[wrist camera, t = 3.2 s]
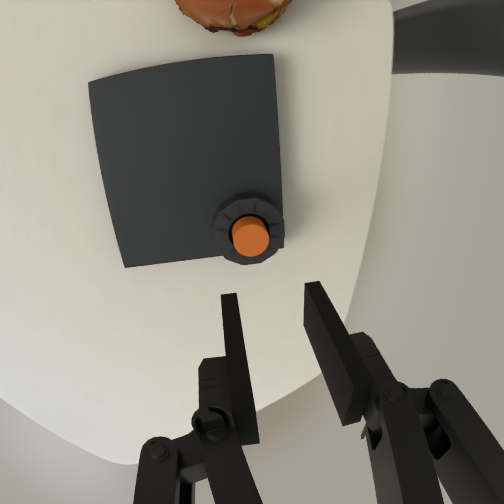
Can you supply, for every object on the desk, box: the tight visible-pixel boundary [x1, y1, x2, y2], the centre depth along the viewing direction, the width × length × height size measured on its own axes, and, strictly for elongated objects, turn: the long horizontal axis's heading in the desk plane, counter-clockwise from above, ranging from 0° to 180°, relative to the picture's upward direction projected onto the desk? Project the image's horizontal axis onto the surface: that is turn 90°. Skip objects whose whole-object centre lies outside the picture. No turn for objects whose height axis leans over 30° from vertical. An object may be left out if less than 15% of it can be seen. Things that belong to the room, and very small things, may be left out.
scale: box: [88, 54, 285, 268], centre depth 22 cm, size 14×16×3 cm
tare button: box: [232, 216, 269, 257], centre depth 23 cm, size 3×3×2 cm
